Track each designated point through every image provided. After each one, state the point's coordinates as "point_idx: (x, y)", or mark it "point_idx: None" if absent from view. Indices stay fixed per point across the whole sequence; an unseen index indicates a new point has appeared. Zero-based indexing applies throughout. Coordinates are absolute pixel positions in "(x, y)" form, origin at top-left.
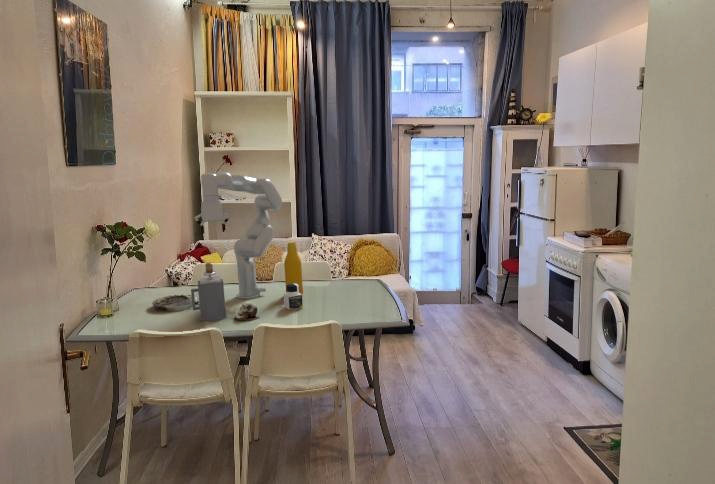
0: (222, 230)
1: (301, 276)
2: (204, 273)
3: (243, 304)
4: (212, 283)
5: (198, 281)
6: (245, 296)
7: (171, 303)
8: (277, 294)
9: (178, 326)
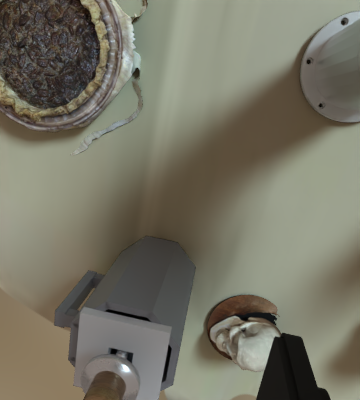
0: (275, 350)
1: None
2: (84, 390)
3: (237, 361)
4: None
5: (75, 328)
6: (329, 103)
7: (30, 116)
8: None
9: (56, 290)
